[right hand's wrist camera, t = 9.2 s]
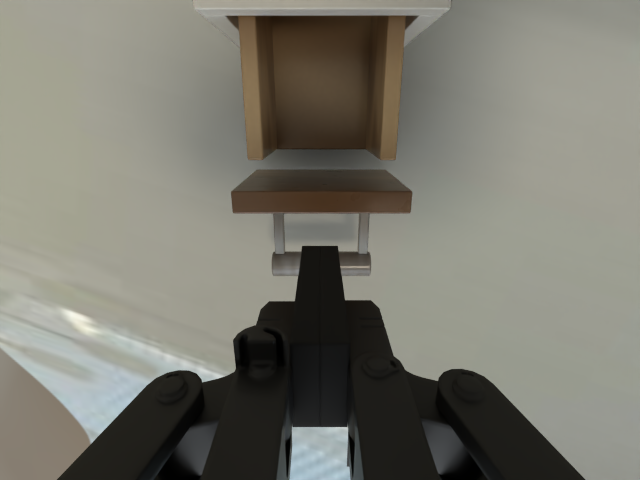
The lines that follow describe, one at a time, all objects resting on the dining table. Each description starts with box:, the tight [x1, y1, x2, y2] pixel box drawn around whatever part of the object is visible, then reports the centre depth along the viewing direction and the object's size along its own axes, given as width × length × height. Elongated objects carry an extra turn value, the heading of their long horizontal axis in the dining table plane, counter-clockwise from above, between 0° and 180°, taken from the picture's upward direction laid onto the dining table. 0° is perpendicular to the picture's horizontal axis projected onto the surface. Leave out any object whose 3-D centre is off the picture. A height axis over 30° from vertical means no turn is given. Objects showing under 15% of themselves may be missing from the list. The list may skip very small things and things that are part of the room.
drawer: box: [231, 15, 412, 276], centre depth 20 cm, size 21×9×8 cm, turn 0°
